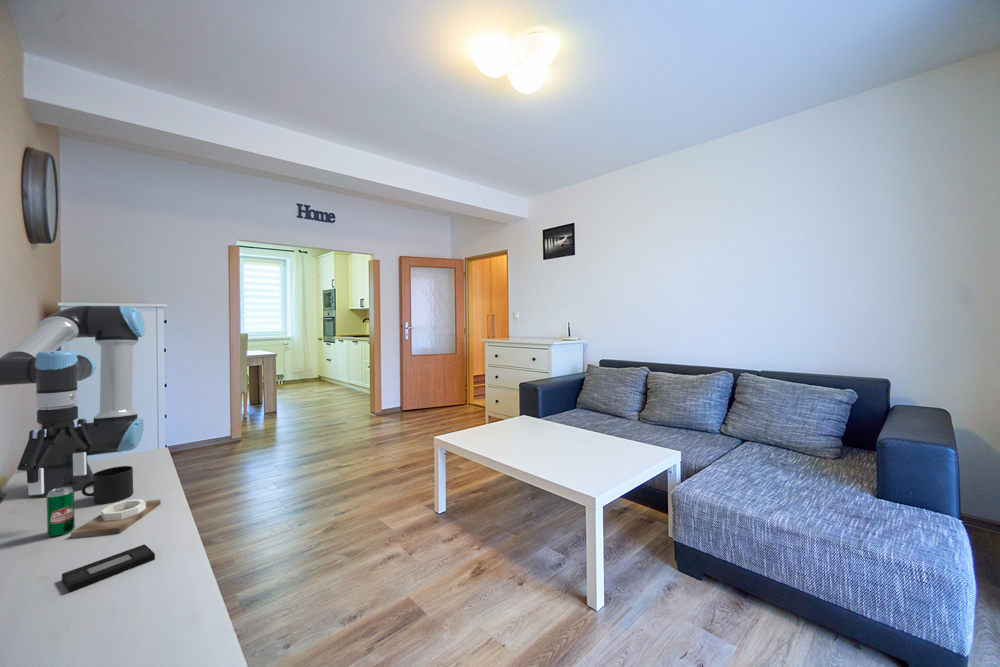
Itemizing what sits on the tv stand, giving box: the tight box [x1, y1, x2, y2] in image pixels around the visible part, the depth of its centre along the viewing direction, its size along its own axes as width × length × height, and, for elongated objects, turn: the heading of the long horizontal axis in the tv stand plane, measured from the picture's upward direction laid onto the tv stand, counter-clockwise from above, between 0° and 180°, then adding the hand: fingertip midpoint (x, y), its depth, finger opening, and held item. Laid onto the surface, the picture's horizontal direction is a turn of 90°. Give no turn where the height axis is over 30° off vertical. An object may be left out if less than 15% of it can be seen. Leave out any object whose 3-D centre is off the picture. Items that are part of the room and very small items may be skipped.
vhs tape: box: [61, 544, 156, 593], centre depth 92 cm, size 8×14×2 cm, turn 146°
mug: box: [81, 465, 134, 505], centre depth 129 cm, size 9×12×9 cm
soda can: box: [45, 487, 76, 537], centre depth 108 cm, size 5×5×12 cm
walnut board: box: [70, 499, 161, 539], centre depth 116 cm, size 18×11×2 cm, turn 13°
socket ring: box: [100, 498, 146, 521], centre depth 117 cm, size 9×9×2 cm
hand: (59, 484), depth 108 cm, fingers open, 13 cm apart
